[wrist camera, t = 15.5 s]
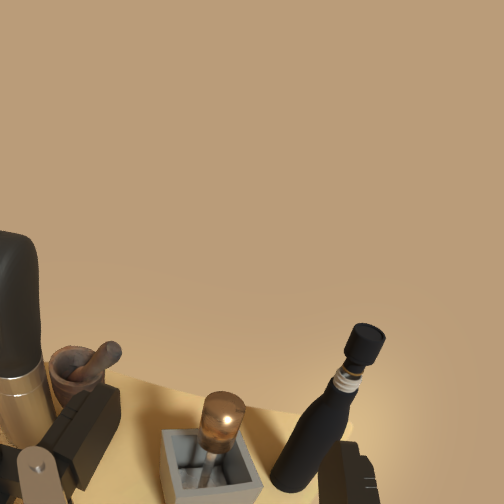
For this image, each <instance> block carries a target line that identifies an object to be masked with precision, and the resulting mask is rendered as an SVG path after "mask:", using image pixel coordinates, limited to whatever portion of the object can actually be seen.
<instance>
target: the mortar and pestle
mask: <svg viewBox="0 0 504 504" xmlns="http://www.w3.org/2000/svg"><path fill="white" fill-rule="evenodd" d="M121 355H122V351H121V347H120V345H119V344H118V343H116V342H114V341H108V342H105V343H104V344H102V345H101V346H100V348H98V350H97V351H96V352H94V351H92V350H91V349H88V348H85V347H78V346H66V347H64V348H61V349H59V350H57V351H56V352H55V353H54V354H53V355H52V356H51V359H50V361H49V373H50V378H51V381H52V387H53V390H54V393H55V396H56V398H57V399H58V401H59V403H60V404H61V406H62V407H63V408H64V407H66V405H67V403H68V402H69V401H70V399H71V398H72V397H73V396H74V395H75V394H77V393H79V392H81V391H82V390H86V391H89V392H92V391H93V389H94V388H95V386H96V385H97V384H98V383H99V382H102V383H105V380H104V377H105V369H107V368H109V367H110V366H112V365H114V364H115V363H116V362H118V360H119V359H120V357H121Z"/></svg>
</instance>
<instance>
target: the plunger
mask: <svg viewBox="0 0 504 504" xmlns="http://www.w3.org/2000/svg"><path fill="white" fill-rule="evenodd" d="M245 410H246V408H245V404H244V402H243V401H242V400H241V399H240V398H239V397H238V396H236V395H235V394H232V393H229V392H225V391H218V392H214V393H211V394H209V395H208V396H207V397H206V399H205V401H204V406H203V411H202V416H201V421H200V425H199V430H198V435H197V441H198V444H199V445H200V447H201V448H202V449H204V450H205V451H207V453H206V457H205V460H204V464H203V467H201V468H186V469H178V470H179V474H180V478H181V482H182V486H183V490H186V489H199V488H210V487H219V486H227V483H226V481H225V478H224V475H223V472H222V469H221V466H214V463H215V459H216V456H217V454H224V453H227V452H228V451H230V450H231V449H232V447H233V445H234V442H235V439H236V437H237V434H238V431H239V428H240V425H241V422H242V419H243V416H244V413H245Z"/></svg>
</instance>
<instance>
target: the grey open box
mask: <svg viewBox="0 0 504 504" xmlns="http://www.w3.org/2000/svg"><path fill="white" fill-rule="evenodd" d="M198 430H199V429H165V430H162V431H161V448H160V467H159V474H160V479H161V484H162V489H163V494H164V498H165V503H166V504H253V503H254V502H255V500H256V498H257V497H258V495H259V494H260V492H261V490H262V489H263V487H264V486H263V484H262V482H261V479H260V477H259V475H258V473H257V470H256V468H255V466H254V463H253V461H252V459H251V456H250V454H249V452H248V449H247V447H246V444H245V442H244V440H243V437H242V435H241V432H240V430H239V431H238V434H237V437H236V439H235V442H234V445H233V447H232V449H231V450H230V451H228V452H227V453H224V454H217V456H216V459H215V463H214V466H221V469H222V472H223V475H224V478H225V481H226V483H227V486H219V487H210V488H199V489H186V490H183V486H182V482H181V478H180V474H179V470H178V469H186V468H201V467H203V464H204V460H205V457H206V453H207V451H205V450H204V449H202V448H201V447H200V445H199V444H198V441H197V435H198Z"/></svg>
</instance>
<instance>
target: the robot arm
mask: <svg viewBox="0 0 504 504" xmlns="http://www.w3.org/2000/svg"><path fill="white" fill-rule="evenodd" d="M40 340H41V321H40V308H39V268H38V259H37V252H36V249H35V246H34V244H33V242H32V241H31V239H29V238H28V237H27V236H24V235H21V234H16V233H11V232H6V231H0V426H1V428H2V430H3V432H4V434H5V436H6V438H7V440H8V442H9V443H11V444H14V445H15V446H16V447H17V448H19V449H17V448H13V447H9V446H6V445H3V444H0V504H13V503H14V501H15V499H16V497H18V498H21V499H23V502H24V504H74V502H73V499H72V494H73V492H74V490H75V488H78V489H80V490H82V491H84V492H85V490H86V488H87V486H88V484H89V482H90V480H91V478H92V476H93V474H94V472H95V470H96V468H97V466H98V464H99V462H100V460H101V459H102V457H103V455H104V453H105V451H106V449H107V447H108V445H109V443H110V441H111V440H112V438H113V436H114V434H115V432H116V430H117V428H118V426H119V423H120V419H121V406H120V390H119V389H118V388H115V387H113V386H110V385H107V384H105V383H102V382H99V383H98V384H97V385H96V386H95V388H94V389H93V391H92V392H89V391H86V390H82V391H81V392H79V393H77V394H75V395H74V396H73V397H72V398H71V399H70V401H69V402H68V403H67V405H66V407H64V409H63V410H62V411H61V413H60V415H59V416H58V417H57V416H56V412H55V409H54V405H53V401H52V397H51V393H50V389H49V384H48V380H47V375H46V371H45V366H44V361H43V355H42V350H41V342H40ZM318 488H319V504H380V499H379V494H378V489H377V483H376V480H375V473H374V468H373V465H372V464H371V462H370V461H369V459H368V458H367V456H362V455H361V456H360V453H359V448H358V444H357V443H356V442H350V441H339V440H337V441H335V442H334V444H333V445H332V447H331V448H330V450H329V451H328V453H327V454H326V455H325V457H324V458H323V460H322V461H321V463H320V466H319V469H318Z"/></svg>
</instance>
